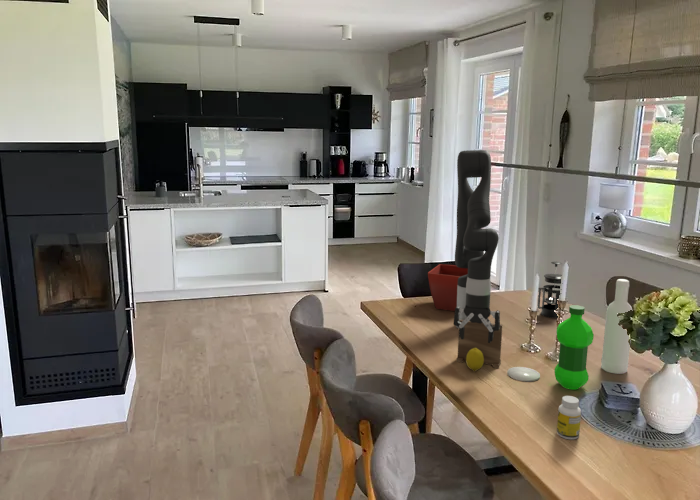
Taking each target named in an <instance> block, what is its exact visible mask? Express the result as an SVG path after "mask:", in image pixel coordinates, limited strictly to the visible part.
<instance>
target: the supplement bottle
mask: <svg viewBox="0 0 700 500" xmlns="http://www.w3.org/2000/svg"><path fill="white" fill-rule="evenodd" d="M579 406H580V400H579V399H578V397H575V396H572V395H564V396H562V397H561V404H560V405H559V406H558V410H557V411H558V412H557V425H556V433H557V435H558V436H560V437H561V438H562V439H565V440H571V441H573V440H577V439H578V438H579V437H580V430H581V429H580V428H581V421H582V420H581V417H582V410H581V408H580V407H579Z"/></svg>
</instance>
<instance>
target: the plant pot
mask: <svg viewBox="0 0 700 500" xmlns="http://www.w3.org/2000/svg"><path fill="white" fill-rule="evenodd" d="M467 274H468V269H466V268H458V267H457V266H456V264H443V263H440V264H438V265H437V266H435V267H433V268H432V269H431V270H429V271H428V272H427V279H428V285H429V289H430V290H429V291H430V295H431V298H432V302H433V304H434V308H435V309H437V310H444V311H450V312H455V308H456V307H457V285H458V278H459V277H461V276H464V275H467Z"/></svg>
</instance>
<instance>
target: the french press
mask: <svg viewBox="0 0 700 500" xmlns="http://www.w3.org/2000/svg"><path fill="white" fill-rule="evenodd" d="M550 263H551V264H552V265H554V267H555V271H554V273H546V274H544V275H543V277H544V282H546V283H550V284H546V285H543V287H538V292H539V295H537V306H538V307H537V308H538V309H540V311H541V312H540V315H541V316H543V317H545V318H550V319H559V318H558V316H557V314H556V313H555V312H554V310H556V309H557V308H558V304H557V299H558V298H559V295H560V296H561V293H560V290H561V289H560V286H561V276H562V275H563V274H559V273H557V267H558V265H562V264H563V263H562V262H560V261H551V262H550ZM557 284H558V285H557ZM557 289H558V290H557ZM541 290H542V291H541ZM546 293H547V297H546ZM541 294H542V301H541ZM541 303H542V304H541ZM545 303H546V304H545ZM540 304H541V306H540Z"/></svg>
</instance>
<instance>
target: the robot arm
mask: <svg viewBox="0 0 700 500" xmlns="http://www.w3.org/2000/svg"><path fill="white" fill-rule="evenodd" d="M456 161H457V163H456V165H457V166H456V169H457V170H456V171H457V172H456V173H457V174H456V175H457V202H456V203H457V205H456V240H455V249H454V263H455V264H454V265H456V266H457V267H458V268H466V269H468V274H467V275H464V276H461V277H459V278H458V285H457V307H456V308H455V311H454V317H453V325H454V326H455V327H456V328H457V330H458V335H459V337H461V339H464V332H465V327H464V325H465V324H466V323H467V322H468V321H470V322H471V323H480V324H481V323H484V325H485V326H486V327H487V328H488V330H489V332H488V343H490V342H491V341H492V340H493V335H494V331H498V330H499V328H500V324H501V311H500V310H494V311H493V310H491V308H490V307H491V291H492V290H491V286H492V282H491V274H492V273H491V272H492V271H491V270H492V263H493V259H494V255H495V253H496V250H497V247H498V243H499V239H500V238H499V237H500V236H499V233H498V232H497V231H496V229H494V228H487V227H488V226H489V225H490V224H491V219H492V216H491V207H490V195H491V193H490V192H491V184H492V182H491V181H492V180H491V179H492V178H491V177H492V176H491V175H492V159H491V155H490V152H489V151H488V150H486V149H474V150H473V149H471V150H461V151H460V152H459V153H458V156H457V160H456ZM468 178H469V179H470V178H472V179H473V178H474V179H475V178H481V179H480V181H479V183H478V185H477V187H475V189H474V190H473V188H472V187H471V185H470V183H469V180H468ZM490 316H492V318H493V319H494V324H495V326H493V325H492V324H491V323H492V322H491V321H490V319H489V318H490ZM460 319H461V320H463V321H462V322H459V320H460ZM485 322H486V323H485Z"/></svg>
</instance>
